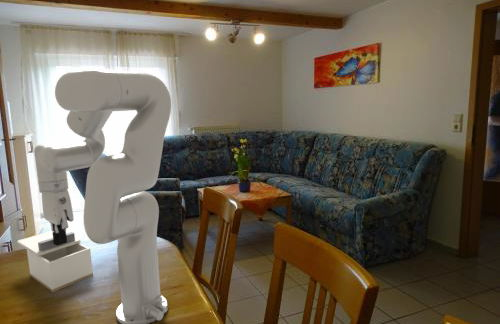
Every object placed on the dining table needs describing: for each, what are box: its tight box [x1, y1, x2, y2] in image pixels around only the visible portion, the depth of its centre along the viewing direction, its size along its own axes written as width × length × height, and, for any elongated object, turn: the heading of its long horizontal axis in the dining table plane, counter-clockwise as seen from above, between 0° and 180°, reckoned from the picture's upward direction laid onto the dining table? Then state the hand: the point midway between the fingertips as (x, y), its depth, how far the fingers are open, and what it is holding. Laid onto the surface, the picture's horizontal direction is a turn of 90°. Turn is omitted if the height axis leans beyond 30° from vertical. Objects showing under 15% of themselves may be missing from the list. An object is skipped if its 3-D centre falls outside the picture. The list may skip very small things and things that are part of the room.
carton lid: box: [17, 230, 81, 256], centre depth 109 cm, size 16×12×3 cm
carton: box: [26, 242, 94, 293], centre depth 106 cm, size 16×12×9 cm
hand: (60, 243), depth 104 cm, fingers closed
